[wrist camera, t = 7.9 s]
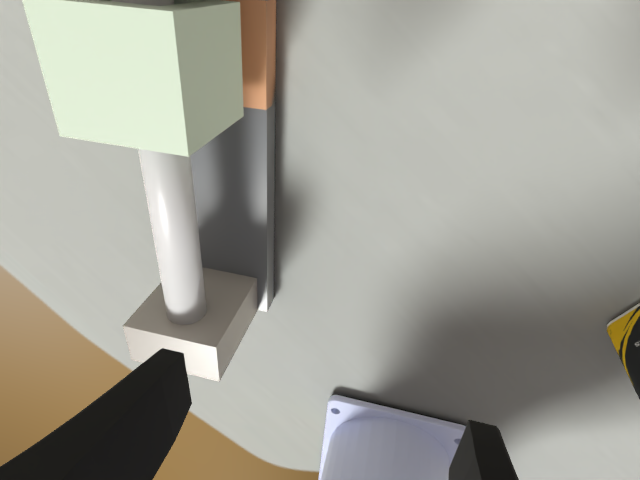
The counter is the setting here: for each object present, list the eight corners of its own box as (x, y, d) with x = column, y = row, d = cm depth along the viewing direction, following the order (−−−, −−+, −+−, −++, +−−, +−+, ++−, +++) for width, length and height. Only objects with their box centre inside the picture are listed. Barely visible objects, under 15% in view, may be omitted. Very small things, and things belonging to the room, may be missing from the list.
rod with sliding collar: (273, 299, 22) (230, 384, 17) (184, 280, 23) (120, 357, 18) (277, -94, 13) (192, -130, 9) (131, -102, 14) (-17, -139, 9)
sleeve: (243, 116, 15) (188, 157, 12) (140, 101, 15) (60, 136, 12) (240, 1, 13) (172, 11, 10) (122, -10, 14) (20, -5, 10)
